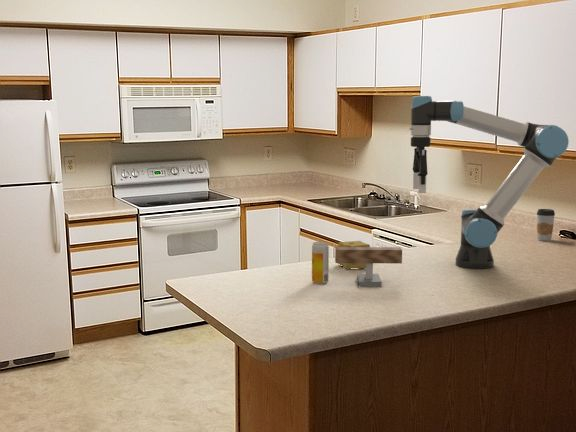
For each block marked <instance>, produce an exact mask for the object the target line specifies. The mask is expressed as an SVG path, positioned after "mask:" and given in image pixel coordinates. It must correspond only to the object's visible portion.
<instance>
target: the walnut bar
mask: <svg viewBox="0 0 576 432" xmlns="http://www.w3.org/2000/svg"><path fill="white" fill-rule="evenodd" d="M334 248H335V250H334V251H335V257H334V261H335V264H338V263H373V264H403V249H402V248H401V247H398V246H370V247H338V246H335V247H334Z"/></svg>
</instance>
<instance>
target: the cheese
mask: <svg viewBox="0 0 576 432" xmlns="http://www.w3.org/2000/svg"><path fill="white" fill-rule="evenodd" d="M337 247H371V245H370V244H369V243H365V242H363V241H361V240H355V241H354V240H353V241H339V242H338V243H337ZM337 264H340V265H342V266H343V267H342V268H343V269H344V268H345V269H351V268H366V263H337ZM345 269H344V270H345Z"/></svg>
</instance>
